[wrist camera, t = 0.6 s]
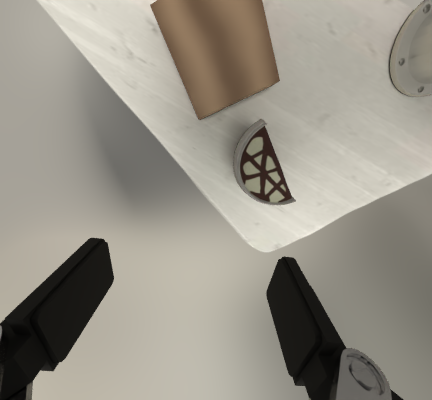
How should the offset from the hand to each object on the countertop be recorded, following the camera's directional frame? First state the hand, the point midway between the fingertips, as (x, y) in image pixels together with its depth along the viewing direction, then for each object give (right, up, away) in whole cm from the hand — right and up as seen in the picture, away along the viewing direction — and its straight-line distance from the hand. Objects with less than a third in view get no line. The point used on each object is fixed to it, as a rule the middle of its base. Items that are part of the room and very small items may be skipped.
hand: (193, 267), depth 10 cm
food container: (+7, +11, +22) cm, 26 cm away
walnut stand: (+2, +25, +15) cm, 29 cm away
